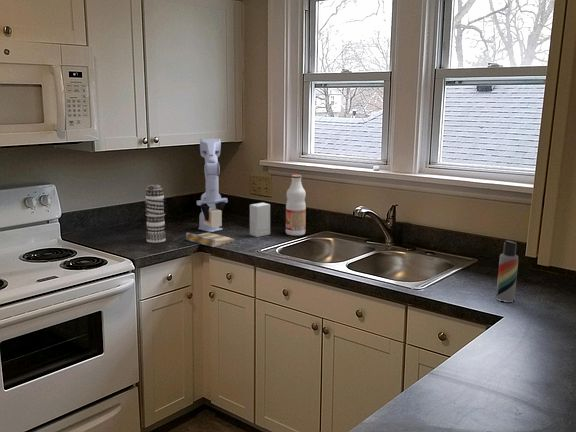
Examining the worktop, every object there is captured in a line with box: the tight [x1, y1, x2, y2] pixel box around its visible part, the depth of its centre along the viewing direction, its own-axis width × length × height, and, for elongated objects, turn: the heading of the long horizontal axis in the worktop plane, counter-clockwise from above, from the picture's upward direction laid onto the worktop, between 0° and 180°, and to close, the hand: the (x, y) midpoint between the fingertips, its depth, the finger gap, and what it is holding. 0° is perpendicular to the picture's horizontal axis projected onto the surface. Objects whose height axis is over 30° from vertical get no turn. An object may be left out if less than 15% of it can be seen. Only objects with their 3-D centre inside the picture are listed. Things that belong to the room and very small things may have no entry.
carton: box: [204, 208, 223, 227], centre depth 263 cm, size 5×8×7 cm, turn 33°
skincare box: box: [249, 202, 271, 238], centre depth 274 cm, size 8×6×15 cm
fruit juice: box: [285, 174, 307, 236], centre depth 277 cm, size 9×9×28 cm
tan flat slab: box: [185, 231, 236, 248], centre depth 263 cm, size 18×14×3 cm
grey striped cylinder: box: [144, 183, 167, 244], centre depth 260 cm, size 9×9×25 cm
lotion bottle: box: [495, 240, 519, 301], centre depth 190 cm, size 6×6×20 cm
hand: (212, 219), depth 264 cm, fingers closed on carton, 5 cm apart
